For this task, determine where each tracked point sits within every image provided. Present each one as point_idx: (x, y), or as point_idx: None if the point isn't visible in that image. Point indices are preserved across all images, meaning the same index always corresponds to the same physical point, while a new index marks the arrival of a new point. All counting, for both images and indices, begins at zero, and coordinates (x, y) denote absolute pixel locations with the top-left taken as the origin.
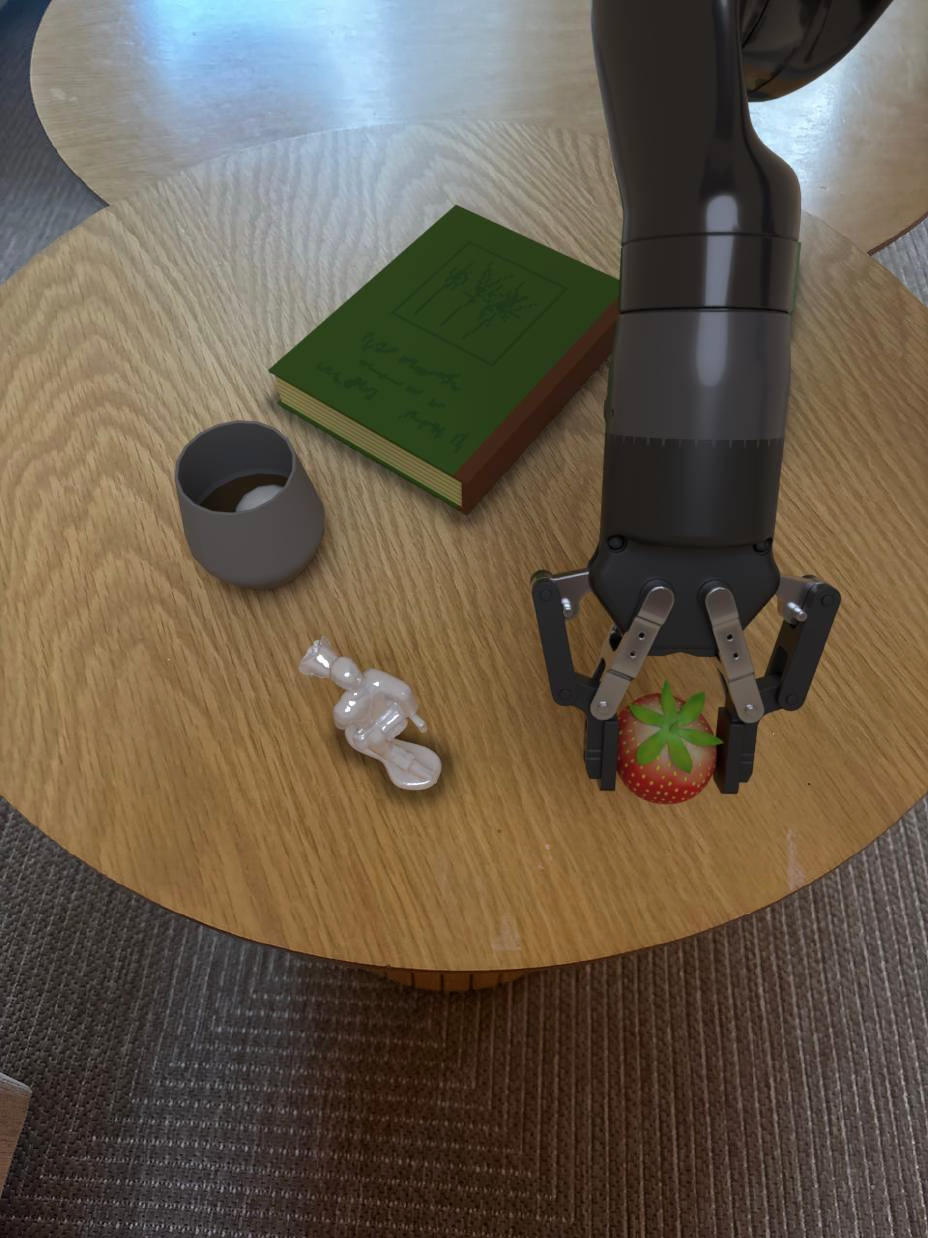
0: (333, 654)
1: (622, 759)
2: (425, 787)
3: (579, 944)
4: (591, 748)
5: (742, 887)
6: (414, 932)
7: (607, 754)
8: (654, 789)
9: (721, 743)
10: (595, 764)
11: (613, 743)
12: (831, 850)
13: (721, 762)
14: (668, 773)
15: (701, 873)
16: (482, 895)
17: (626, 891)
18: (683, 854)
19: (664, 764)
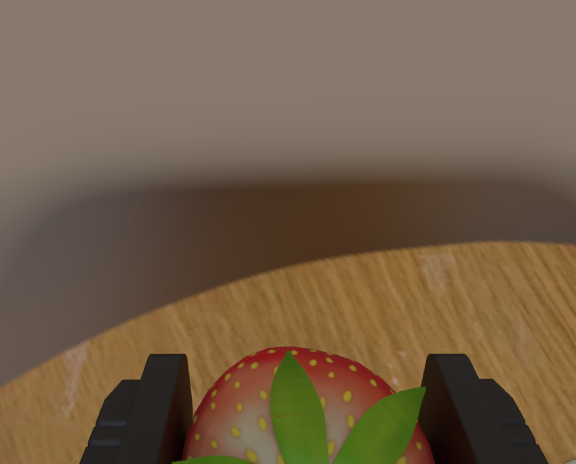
0: None
1: (420, 430)
2: (573, 462)
3: (352, 262)
4: (526, 446)
5: (147, 334)
6: (545, 270)
7: (489, 425)
8: (341, 358)
9: (178, 461)
10: (495, 408)
11: (486, 454)
12: (18, 387)
13: (176, 429)
14: (320, 383)
15: (197, 351)
16: (471, 315)
17: (294, 325)
18: (216, 375)
19: (332, 404)
